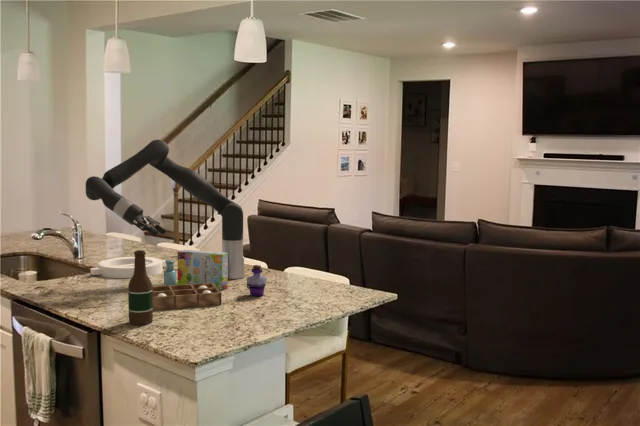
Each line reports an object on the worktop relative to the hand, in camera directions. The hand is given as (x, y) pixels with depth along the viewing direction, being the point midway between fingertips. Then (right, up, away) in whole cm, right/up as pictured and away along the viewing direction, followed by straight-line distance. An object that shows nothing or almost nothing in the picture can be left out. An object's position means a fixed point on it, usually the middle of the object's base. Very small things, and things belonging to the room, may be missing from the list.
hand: (161, 233), depth 238 cm
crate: (+12, -25, -13) cm, 31 cm away
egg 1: (+6, -25, -20) cm, 32 cm away
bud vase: (+4, -24, 0) cm, 24 cm away
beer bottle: (+4, -28, -40) cm, 49 cm away
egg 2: (+18, -24, -6) cm, 30 cm away
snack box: (+14, -23, +11) cm, 29 cm away
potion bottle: (+38, -25, -1) cm, 45 cm away
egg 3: (+21, -25, -14) cm, 35 cm away
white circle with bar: (-24, -19, +39) cm, 50 cm away
